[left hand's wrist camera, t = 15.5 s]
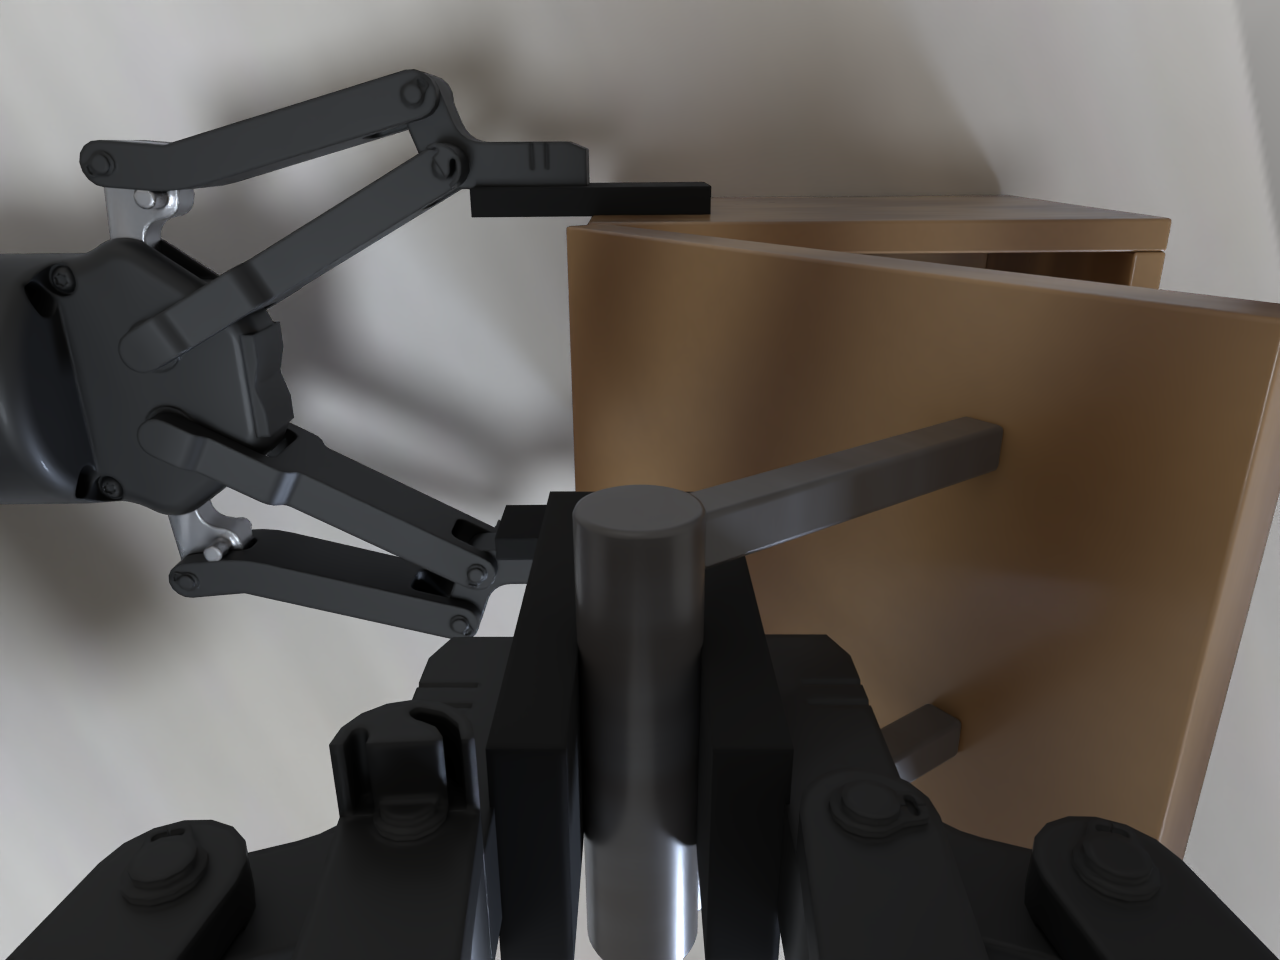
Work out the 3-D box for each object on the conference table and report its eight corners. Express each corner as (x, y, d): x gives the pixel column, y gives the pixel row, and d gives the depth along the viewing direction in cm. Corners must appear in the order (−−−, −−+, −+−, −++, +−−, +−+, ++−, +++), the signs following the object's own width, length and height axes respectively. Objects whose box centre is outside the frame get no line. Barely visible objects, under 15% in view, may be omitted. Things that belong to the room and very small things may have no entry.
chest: (1008, 195, 32) (1173, 218, 22) (975, 450, 35) (1105, 568, 26) (602, 198, 32) (587, 222, 22) (607, 452, 35) (596, 572, 26)
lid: (1330, 308, 10) (850, 436, 6) (1163, 939, 14) (780, 1315, 9) (605, 223, 22) (262, 246, 18) (612, 577, 25) (326, 669, 21)
